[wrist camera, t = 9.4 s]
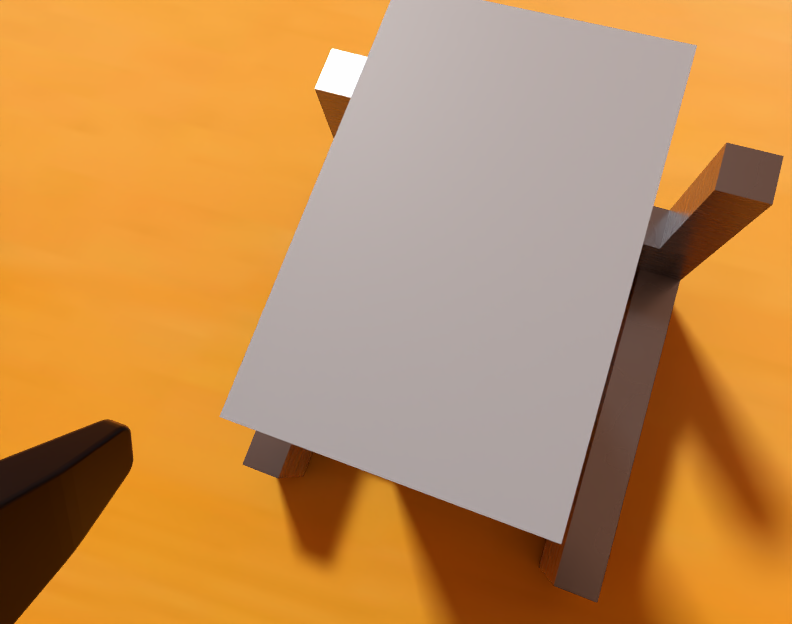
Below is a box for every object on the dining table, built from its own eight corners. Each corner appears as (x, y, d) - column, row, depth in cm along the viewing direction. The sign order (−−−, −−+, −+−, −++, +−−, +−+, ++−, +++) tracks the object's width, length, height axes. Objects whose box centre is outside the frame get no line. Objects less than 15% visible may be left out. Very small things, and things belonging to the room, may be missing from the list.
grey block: (518, 498, 16) (671, 586, 5) (353, 438, 17) (135, 386, 6) (567, 332, 17) (791, 65, 6) (408, 283, 18) (323, -33, 7)
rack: (575, 581, 15) (666, 672, 9) (272, 464, 17) (152, 464, 10) (657, 272, 17) (784, 150, 11) (377, 193, 19) (333, 44, 12)
